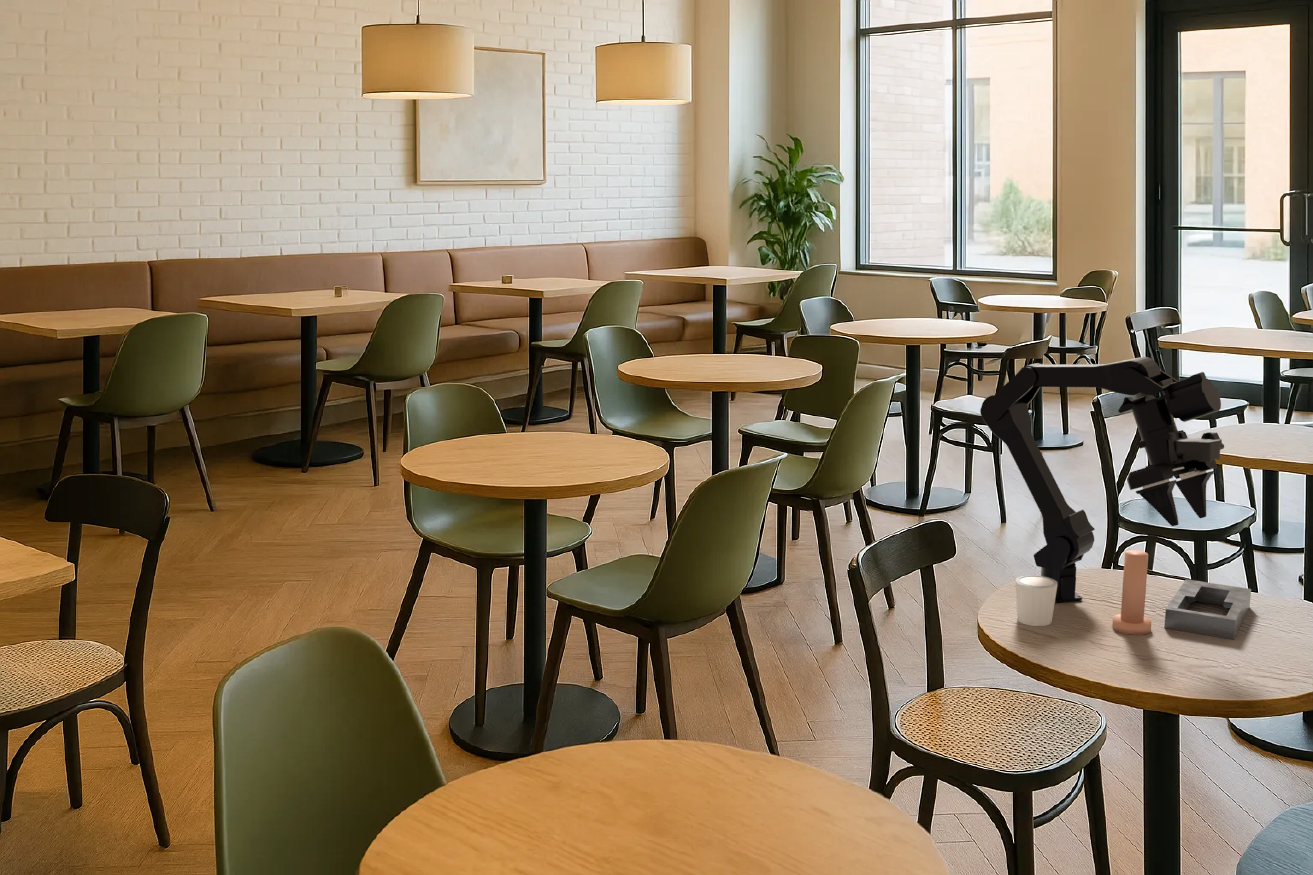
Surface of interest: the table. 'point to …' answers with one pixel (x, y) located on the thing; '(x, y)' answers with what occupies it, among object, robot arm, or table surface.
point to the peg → (1133, 596)
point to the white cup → (1035, 599)
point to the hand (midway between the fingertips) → (1189, 521)
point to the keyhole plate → (1208, 622)
